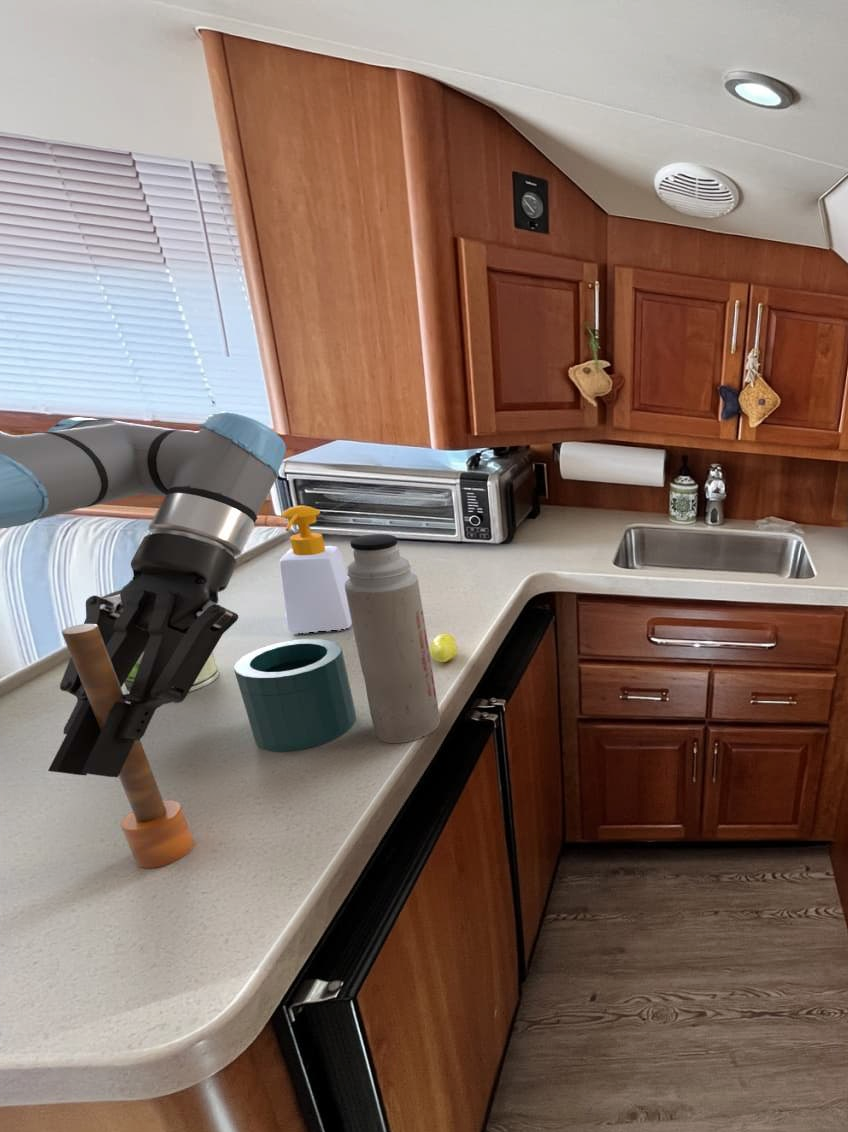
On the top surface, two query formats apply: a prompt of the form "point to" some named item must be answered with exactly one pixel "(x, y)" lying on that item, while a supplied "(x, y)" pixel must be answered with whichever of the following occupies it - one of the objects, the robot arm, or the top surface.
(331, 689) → the teal ring pot
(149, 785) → the wooden peg with base
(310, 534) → the soap bottle
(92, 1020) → the top surface
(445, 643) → the lemon
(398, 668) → the thermos bottle
